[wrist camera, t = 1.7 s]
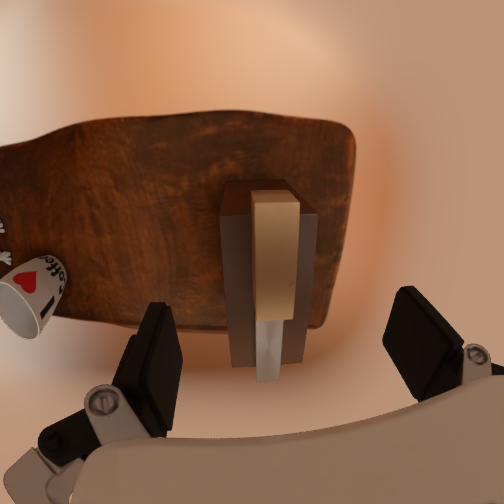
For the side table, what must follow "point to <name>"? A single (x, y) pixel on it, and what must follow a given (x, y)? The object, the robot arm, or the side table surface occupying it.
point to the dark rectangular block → (241, 273)
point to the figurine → (4, 255)
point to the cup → (31, 295)
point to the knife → (273, 274)
